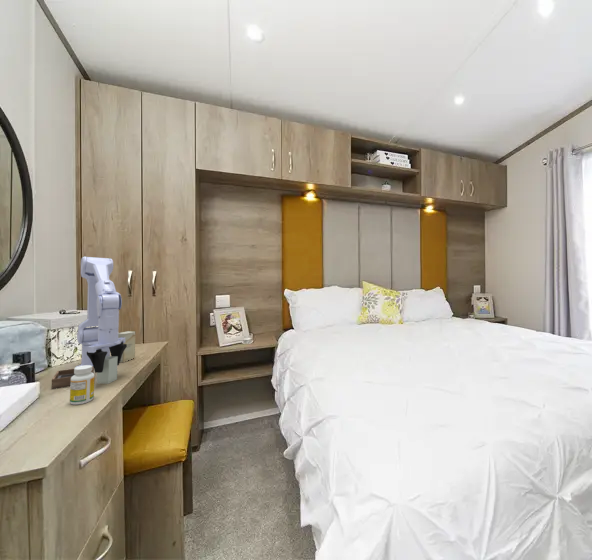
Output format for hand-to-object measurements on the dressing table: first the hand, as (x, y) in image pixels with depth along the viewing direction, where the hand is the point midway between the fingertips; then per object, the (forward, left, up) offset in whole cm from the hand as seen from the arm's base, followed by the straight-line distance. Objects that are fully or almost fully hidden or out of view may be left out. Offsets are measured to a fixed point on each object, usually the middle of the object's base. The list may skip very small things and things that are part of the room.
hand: (107, 368), depth 90 cm
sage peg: (0, 0, -4) cm, 4 cm away
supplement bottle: (+15, +4, -5) cm, 16 cm away
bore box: (+1, -11, -4) cm, 12 cm away
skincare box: (-24, -11, -5) cm, 27 cm away
